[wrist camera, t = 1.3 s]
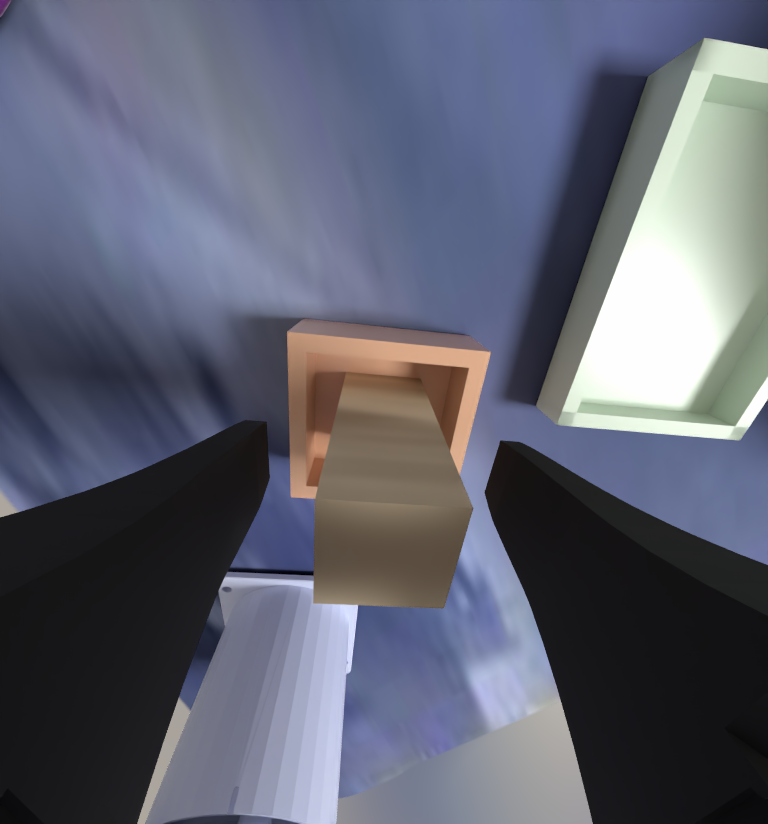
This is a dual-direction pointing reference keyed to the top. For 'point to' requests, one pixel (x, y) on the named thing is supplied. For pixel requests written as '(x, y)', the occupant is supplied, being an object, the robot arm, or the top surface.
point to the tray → (677, 262)
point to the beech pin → (387, 500)
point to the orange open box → (381, 355)
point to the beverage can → (4, 6)
